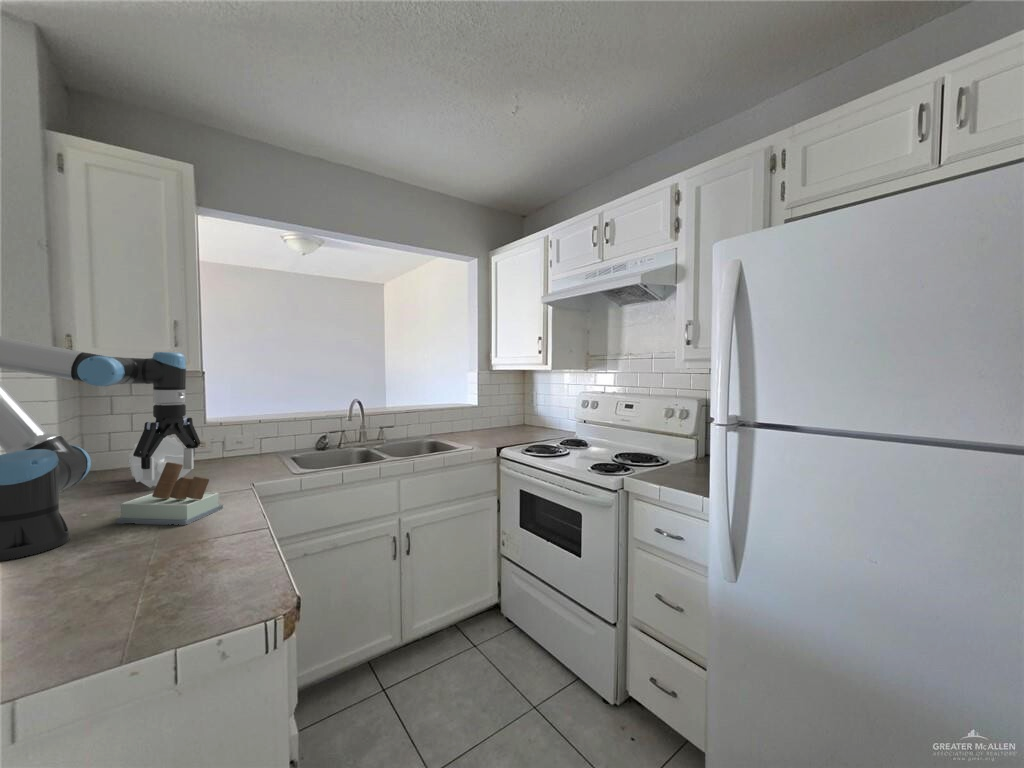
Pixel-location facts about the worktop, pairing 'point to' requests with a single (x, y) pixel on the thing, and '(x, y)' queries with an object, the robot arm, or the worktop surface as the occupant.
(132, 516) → the base
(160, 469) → the spiral staircase
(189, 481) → the wooden block set
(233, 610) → the worktop surface
